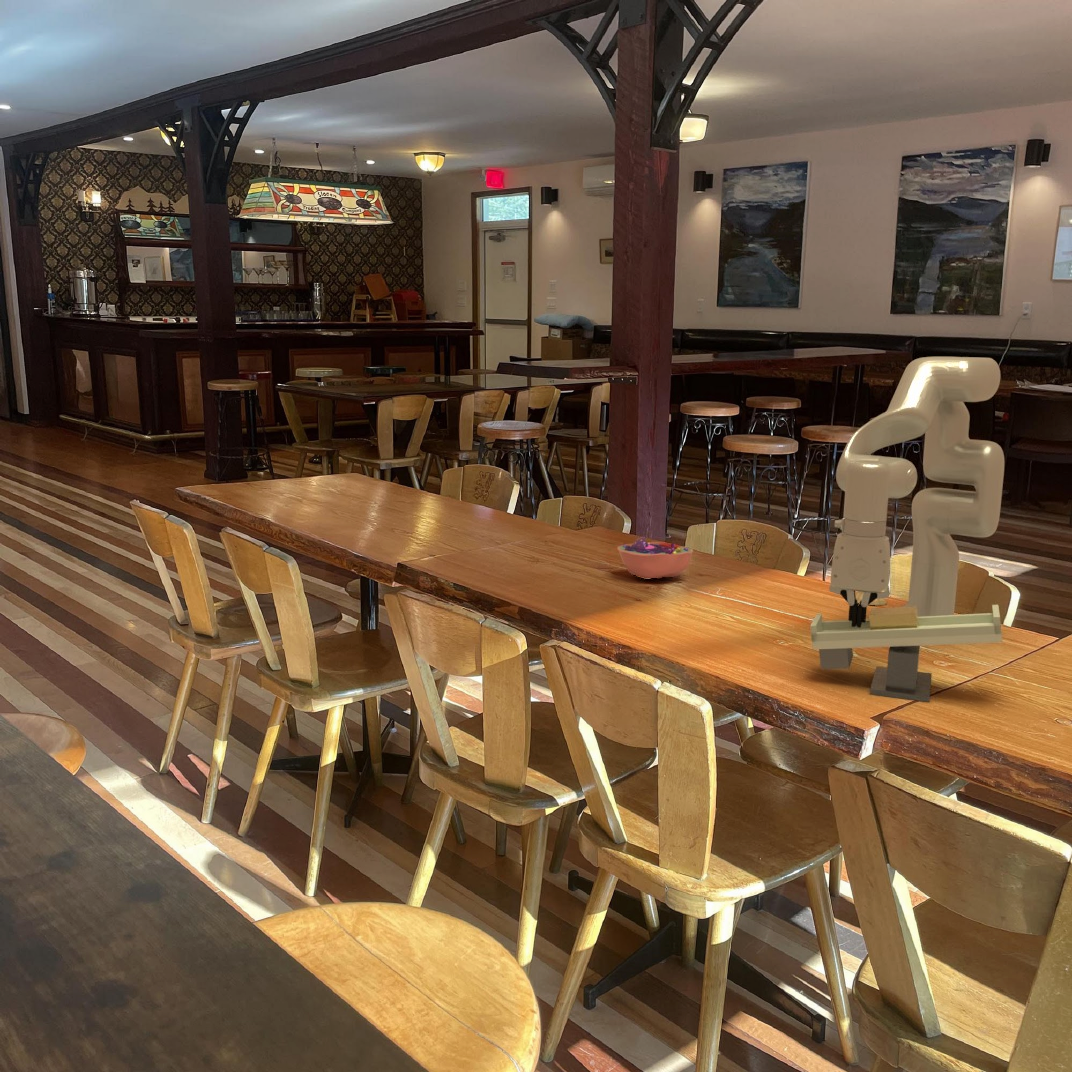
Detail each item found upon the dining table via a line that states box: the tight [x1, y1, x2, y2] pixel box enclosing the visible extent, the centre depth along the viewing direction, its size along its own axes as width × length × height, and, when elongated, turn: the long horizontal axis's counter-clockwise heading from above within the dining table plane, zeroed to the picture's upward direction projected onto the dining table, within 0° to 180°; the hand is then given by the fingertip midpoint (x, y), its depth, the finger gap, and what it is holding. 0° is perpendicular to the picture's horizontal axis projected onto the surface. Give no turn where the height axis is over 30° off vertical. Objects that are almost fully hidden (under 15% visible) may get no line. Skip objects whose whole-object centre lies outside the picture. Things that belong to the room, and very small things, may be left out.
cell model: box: [616, 536, 694, 579], centre depth 266 cm, size 17×20×11 cm
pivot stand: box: [869, 645, 933, 703], centre depth 185 cm, size 10×14×8 cm
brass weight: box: [868, 606, 919, 630], centre depth 184 cm, size 8×5×4 cm, turn 68°
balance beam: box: [809, 604, 1003, 670], centre depth 184 cm, size 32×9×8 cm, turn 68°
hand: (856, 625), depth 187 cm, fingers closed
